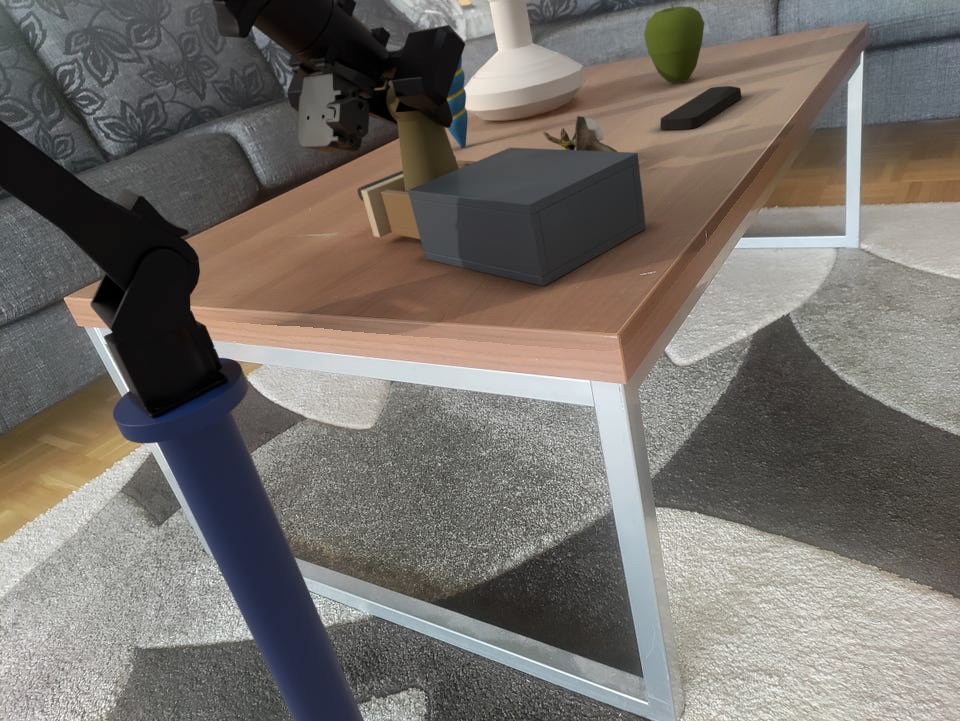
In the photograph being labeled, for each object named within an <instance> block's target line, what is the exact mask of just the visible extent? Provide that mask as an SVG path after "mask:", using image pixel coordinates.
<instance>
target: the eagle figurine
mask: <svg viewBox="0 0 960 721" xmlns="http://www.w3.org/2000/svg"><path fill="white" fill-rule="evenodd" d="M542 134H543V136H544V137H545V138H546V140H548V141H549V142H551V143H553V144H557V145H559V146H561V148H564V150H581V151H606V152H618V150H616V149H615V148H613V147H612V146H609V145H607V144H605V143H603V142H601V141H602V140H604V134H603V131H602V129H601V126H600V125H599V122H598V121H596V120H595V119H594V118H591V117H585V116H581V115H580V116H579V115H577V116H576V120H575V129H574V134H573V136H572V139H570V136H569V134H568V132H567V131H566V129H565V128H564V127H562V128H561V130H560V138H557V137H555V136H553V135H551V134H549V132H546V131H543V132H542Z"/></svg>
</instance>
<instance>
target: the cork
mask: <svg viewBox="0 0 960 721" xmlns="http://www.w3.org/2000/svg"><path fill="white" fill-rule="evenodd" d="M390 87H391V88H390V89H389V90H388V92H387V95H386V103H387V107H388V110H389V112H390V114H391V116H392V117H393V118H394V119H395V120H396V121H397V124H398V127H397V131H398V139H399V150H400V158H401V166H402V167H401V168H402V170H403V176H404V184H405V192H408V190H410V189H412V188H414V187H417V186H419V185H422V184H424V183H426V182H429V181H431V180H434V179H436V178H438V177H441V176H443V175H446V174H448V173H450V172H453V171H455V170H458V169H459V167H458V164H457V162H456V160H457V158H456V159H455V156H456V155H455V153H454V150H453V147H452V145H451V141H450V139H449V136H448V133H447V131H446V128H445V127H443V126H441V125H440V124H438V123H436V122H434V121H433V120H431V119H430V118H428V117H426V116H425V115H423V114H422V113H420V112H418V111H414V112H401V113H396V112H395V111H396V109H397V106H398V103H399V99H398V98H396V96H395V91H394V87H393V85H392V86H390Z"/></svg>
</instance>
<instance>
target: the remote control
mask: <svg viewBox="0 0 960 721" xmlns="http://www.w3.org/2000/svg"><path fill="white" fill-rule="evenodd" d="M740 99H742V90H741V87H739V86H731V85H725V86H714V87H713V86H712V87H710V88H708V89H706V90H704V91H703V92H701V93H700V94H698V95H697V96H695V97H693V98H692V99H690V100H688V101H687V102H685V103H683V104H682V105H680V106H679V107H677V108H675V109H673V110H672V111H670V112H669V113H667V114H665V115H664V116H662V117H661V118H660V127H659V128H660V130H661V131H669V130H670V131H671V130H689V129H695V128H698V127H700V126H701V125H703V124H704V123H705V122H707V121H709V120H710V119H712V118H713V117H714V116H716V115H717V114H719V113H721V112H722V111H723V110H725V109H727V108H728V107H729V106H731V105H732V104H734V103H735V102H737V101H738V100H740Z"/></svg>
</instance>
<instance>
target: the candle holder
mask: <svg viewBox="0 0 960 721" xmlns="http://www.w3.org/2000/svg"><path fill="white" fill-rule="evenodd" d="M486 1H487V2H488V3H489V8H490V13H491V19H492V25H493V30H494V35H495V42H496V46H497V51H496V52H495V53H494V54H493V55H492V56H491V57H490V58H489V59H488V60H486V62H485V63H484V64H483V65H482V66H481V67H480V68H479V69H477V71H476V73H475V74H473V75H472V77H471V78H470V79H469V81H468V82H467V83H466V84H465V86H464V89H465V92H466V104H465V108H466V110H467V112H469V113H471V114H473V115H474V116H476V117H478V118H480V119H481V120H484V121H498V122H499V121H500V122H508V121H518V120H523V119H528V118H533V117H537V116H540V115H543V114H547V113H549V112H552V111H554V110H556V109H558V108H560V107H562V106H564V105H566V104H568V103H570V102H571V101H572V100H573V98H574V97H575V95H576V94H578V92H579V91H580V90H581V88H582V87H583V85H584V84H585V82H586V77H585V71H584V70H585V69H584V65H583V64H582V63H580V62H577V61H576V60H574V59H572V58H570V57H568V56H567V55H565V54H561V53H560V52H557V51H554V50H552V49H549V48H547V47H544V46H541V45H539V44H536V43H533V36H532V31H531V24H530V18H529V12H528V5H527V0H486Z"/></svg>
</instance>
